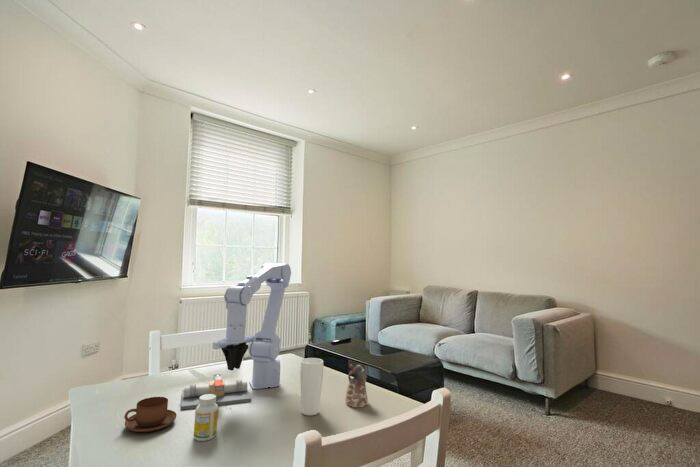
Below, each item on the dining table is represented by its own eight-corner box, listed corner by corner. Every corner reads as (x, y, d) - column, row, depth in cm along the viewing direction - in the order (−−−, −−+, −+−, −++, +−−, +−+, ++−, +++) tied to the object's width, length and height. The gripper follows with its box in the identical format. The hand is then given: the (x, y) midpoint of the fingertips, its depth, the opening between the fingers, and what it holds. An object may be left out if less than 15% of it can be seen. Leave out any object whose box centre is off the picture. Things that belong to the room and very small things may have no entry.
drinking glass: (303, 419, 101) (305, 364, 102) (295, 410, 107) (297, 358, 108) (325, 415, 104) (327, 362, 106) (316, 406, 110) (318, 356, 112)
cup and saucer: (139, 441, 86) (141, 415, 87) (114, 428, 93) (117, 403, 93) (185, 423, 96) (187, 400, 97) (160, 412, 103) (161, 390, 103)
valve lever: (212, 379, 116) (213, 373, 116) (220, 378, 117) (221, 373, 117) (215, 391, 105) (215, 386, 105) (223, 390, 106) (223, 385, 106)
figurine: (365, 409, 110) (367, 368, 111) (343, 406, 111) (344, 366, 112) (369, 400, 117) (370, 362, 118) (347, 398, 118) (349, 360, 119)
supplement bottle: (200, 444, 86) (202, 402, 87) (189, 436, 89) (192, 396, 90) (220, 436, 90) (223, 396, 91) (209, 429, 93) (212, 391, 94)
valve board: (245, 386, 125) (245, 370, 126) (251, 401, 113) (252, 383, 113) (182, 393, 117) (183, 376, 118) (180, 409, 105) (182, 390, 105)
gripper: (247, 320, 121) (244, 361, 120) (208, 325, 109) (205, 371, 108) (261, 323, 116) (258, 365, 115) (221, 328, 105) (218, 376, 104)
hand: (233, 368), depth 111 cm, fingers closed
